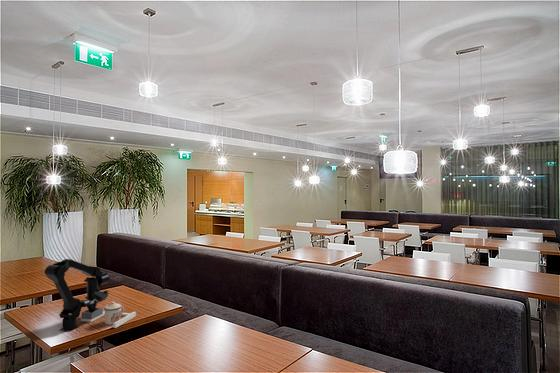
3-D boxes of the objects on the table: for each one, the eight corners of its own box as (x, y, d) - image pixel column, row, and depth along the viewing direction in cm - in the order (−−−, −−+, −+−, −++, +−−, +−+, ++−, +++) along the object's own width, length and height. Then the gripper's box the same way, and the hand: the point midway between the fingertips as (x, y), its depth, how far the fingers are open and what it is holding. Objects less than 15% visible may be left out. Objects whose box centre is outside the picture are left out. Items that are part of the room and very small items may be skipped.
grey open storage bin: (115, 328, 185) (115, 319, 185) (75, 323, 190) (75, 315, 190) (135, 315, 202) (135, 308, 203) (98, 312, 208) (98, 304, 208)
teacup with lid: (111, 326, 188) (111, 305, 188) (100, 323, 192) (100, 303, 192) (128, 318, 199) (129, 299, 199) (118, 316, 203) (118, 297, 203)
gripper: (92, 293, 188) (92, 321, 187) (115, 284, 206) (114, 309, 206) (75, 292, 190) (75, 319, 190) (99, 282, 208) (99, 307, 208)
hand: (92, 313), depth 198 cm, fingers closed
